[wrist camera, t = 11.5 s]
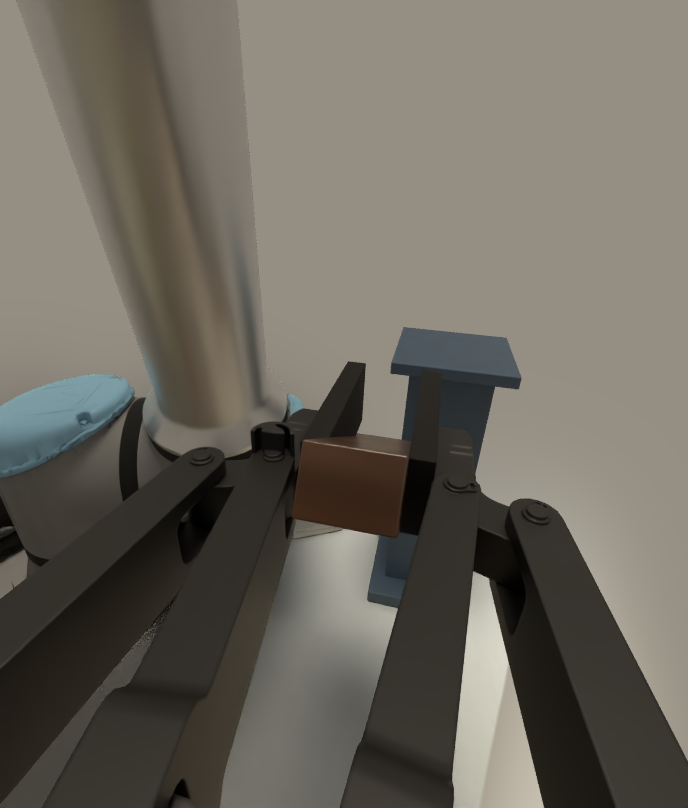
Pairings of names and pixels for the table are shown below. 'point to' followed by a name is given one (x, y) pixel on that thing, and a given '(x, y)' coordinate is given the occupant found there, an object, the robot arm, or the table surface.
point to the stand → (442, 418)
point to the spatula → (353, 483)
